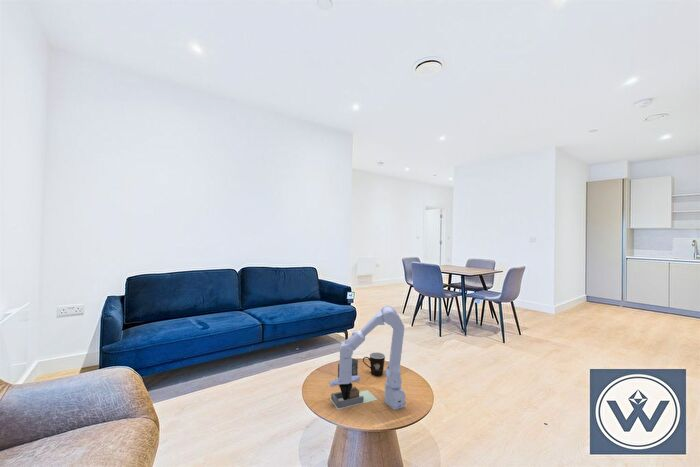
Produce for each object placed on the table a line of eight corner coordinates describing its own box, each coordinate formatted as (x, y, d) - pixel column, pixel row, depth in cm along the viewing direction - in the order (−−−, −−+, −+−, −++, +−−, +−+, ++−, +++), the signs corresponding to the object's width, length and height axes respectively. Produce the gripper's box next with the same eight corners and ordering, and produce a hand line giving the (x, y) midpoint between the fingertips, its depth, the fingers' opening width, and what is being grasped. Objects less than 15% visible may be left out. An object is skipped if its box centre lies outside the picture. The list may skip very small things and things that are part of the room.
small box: (347, 375, 163) (348, 356, 163) (358, 379, 160) (358, 359, 160) (337, 383, 154) (337, 363, 154) (347, 387, 151) (348, 366, 151)
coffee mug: (387, 372, 168) (387, 354, 168) (380, 378, 161) (380, 360, 161) (369, 367, 174) (369, 350, 174) (361, 372, 167) (362, 355, 167)
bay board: (377, 401, 138) (377, 394, 138) (337, 411, 130) (337, 403, 130) (367, 392, 147) (367, 384, 147) (329, 400, 138) (329, 393, 138)
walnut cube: (359, 400, 137) (359, 391, 137) (350, 403, 135) (350, 393, 135) (354, 395, 141) (355, 386, 141) (346, 398, 139) (346, 388, 139)
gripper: (355, 363, 143) (355, 391, 143) (327, 368, 137) (326, 398, 137) (362, 369, 137) (362, 399, 137) (333, 375, 130) (332, 406, 130)
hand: (344, 399), depth 136 cm, fingers closed
